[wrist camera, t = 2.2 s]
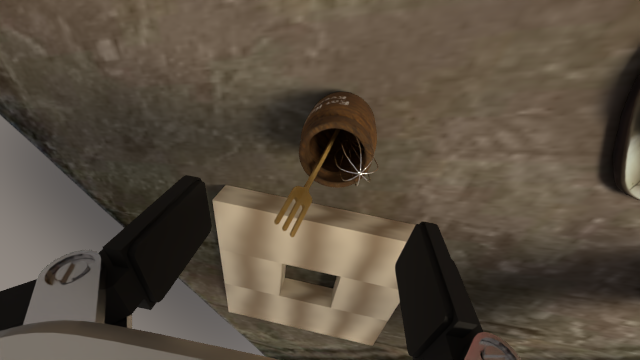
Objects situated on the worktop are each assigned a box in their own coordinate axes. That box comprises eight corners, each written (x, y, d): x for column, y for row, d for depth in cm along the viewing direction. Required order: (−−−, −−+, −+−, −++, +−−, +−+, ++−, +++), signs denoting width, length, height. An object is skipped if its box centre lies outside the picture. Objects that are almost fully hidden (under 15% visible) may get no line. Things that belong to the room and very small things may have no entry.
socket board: (427, 227, 27) (433, 247, 24) (371, 326, 40) (372, 345, 38) (225, 184, 28) (212, 200, 25) (236, 294, 41) (228, 311, 39)
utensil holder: (388, 126, 21) (411, 213, 11) (336, 164, 24) (318, 259, 14) (346, 73, 19) (329, 122, 9) (295, 121, 22) (242, 197, 12)
